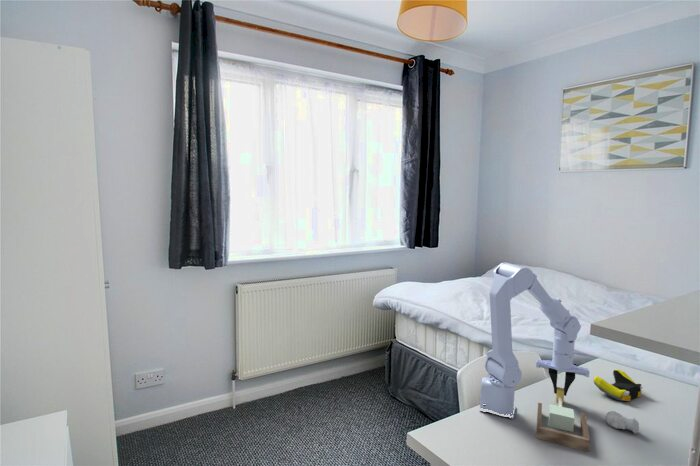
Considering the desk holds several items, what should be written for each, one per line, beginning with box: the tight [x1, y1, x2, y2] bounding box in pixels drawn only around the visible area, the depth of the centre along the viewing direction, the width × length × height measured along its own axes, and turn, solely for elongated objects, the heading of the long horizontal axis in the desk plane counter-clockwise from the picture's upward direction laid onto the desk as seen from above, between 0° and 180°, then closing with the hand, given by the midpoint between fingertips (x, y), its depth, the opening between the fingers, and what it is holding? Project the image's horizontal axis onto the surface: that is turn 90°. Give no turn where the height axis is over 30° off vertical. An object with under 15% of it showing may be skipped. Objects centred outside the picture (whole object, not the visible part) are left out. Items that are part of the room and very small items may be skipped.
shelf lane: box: [535, 402, 590, 452], centre depth 109 cm, size 12×14×3 cm
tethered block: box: [548, 386, 575, 433], centre depth 117 cm, size 6×18×4 cm, turn 153°
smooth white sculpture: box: [605, 410, 640, 435], centre depth 110 cm, size 4×8×5 cm
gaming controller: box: [593, 368, 644, 402], centre depth 129 cm, size 15×6×10 cm
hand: (560, 393), depth 124 cm, fingers closed on tethered block, 2 cm apart
